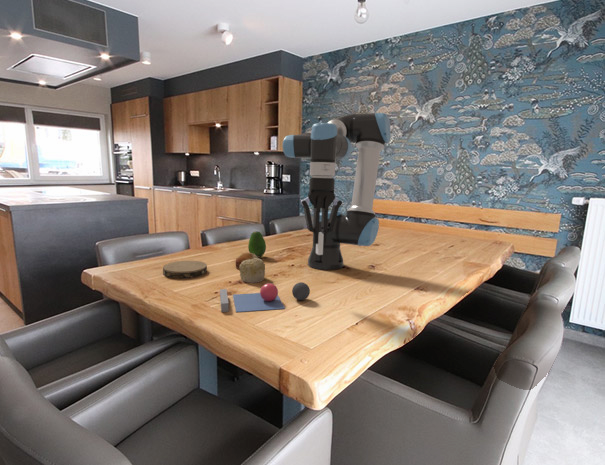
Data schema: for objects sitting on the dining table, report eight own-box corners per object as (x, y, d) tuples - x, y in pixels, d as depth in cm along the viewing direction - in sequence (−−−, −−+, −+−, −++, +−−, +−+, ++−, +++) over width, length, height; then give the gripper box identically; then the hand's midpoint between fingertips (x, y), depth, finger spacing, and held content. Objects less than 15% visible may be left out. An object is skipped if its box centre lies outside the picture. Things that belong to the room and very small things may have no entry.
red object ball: (275, 280, 111) (258, 282, 109) (279, 285, 105) (260, 287, 104) (276, 296, 112) (259, 298, 110) (280, 302, 106) (261, 305, 105)
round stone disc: (194, 265, 146) (194, 258, 145) (214, 274, 135) (214, 266, 134) (156, 272, 135) (155, 264, 134) (174, 282, 124) (174, 274, 123)
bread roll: (260, 274, 148) (262, 255, 150) (255, 270, 138) (257, 250, 140) (237, 272, 149) (239, 254, 151) (231, 268, 139) (233, 249, 141)
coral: (253, 284, 123) (253, 263, 122) (234, 279, 128) (234, 259, 127) (270, 278, 130) (270, 258, 129) (251, 273, 136) (251, 254, 134)
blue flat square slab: (276, 292, 116) (276, 292, 116) (284, 308, 102) (284, 308, 102) (232, 295, 112) (232, 294, 112) (236, 312, 99) (236, 311, 99)
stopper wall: (226, 296, 111) (226, 289, 110) (228, 311, 99) (228, 303, 99) (220, 297, 110) (219, 289, 110) (221, 311, 99) (221, 303, 98)
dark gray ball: (293, 278, 111) (287, 293, 111) (299, 284, 106) (292, 301, 106) (308, 281, 113) (302, 297, 114) (315, 288, 108) (308, 304, 109)
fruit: (264, 259, 157) (265, 233, 155) (246, 259, 158) (247, 232, 155) (266, 255, 165) (267, 230, 163) (249, 254, 165) (249, 229, 163)
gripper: (304, 176, 100) (301, 257, 104) (347, 178, 104) (343, 256, 108) (298, 176, 107) (295, 251, 112) (338, 177, 111) (334, 250, 115)
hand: (319, 253), depth 110 cm, fingers closed
